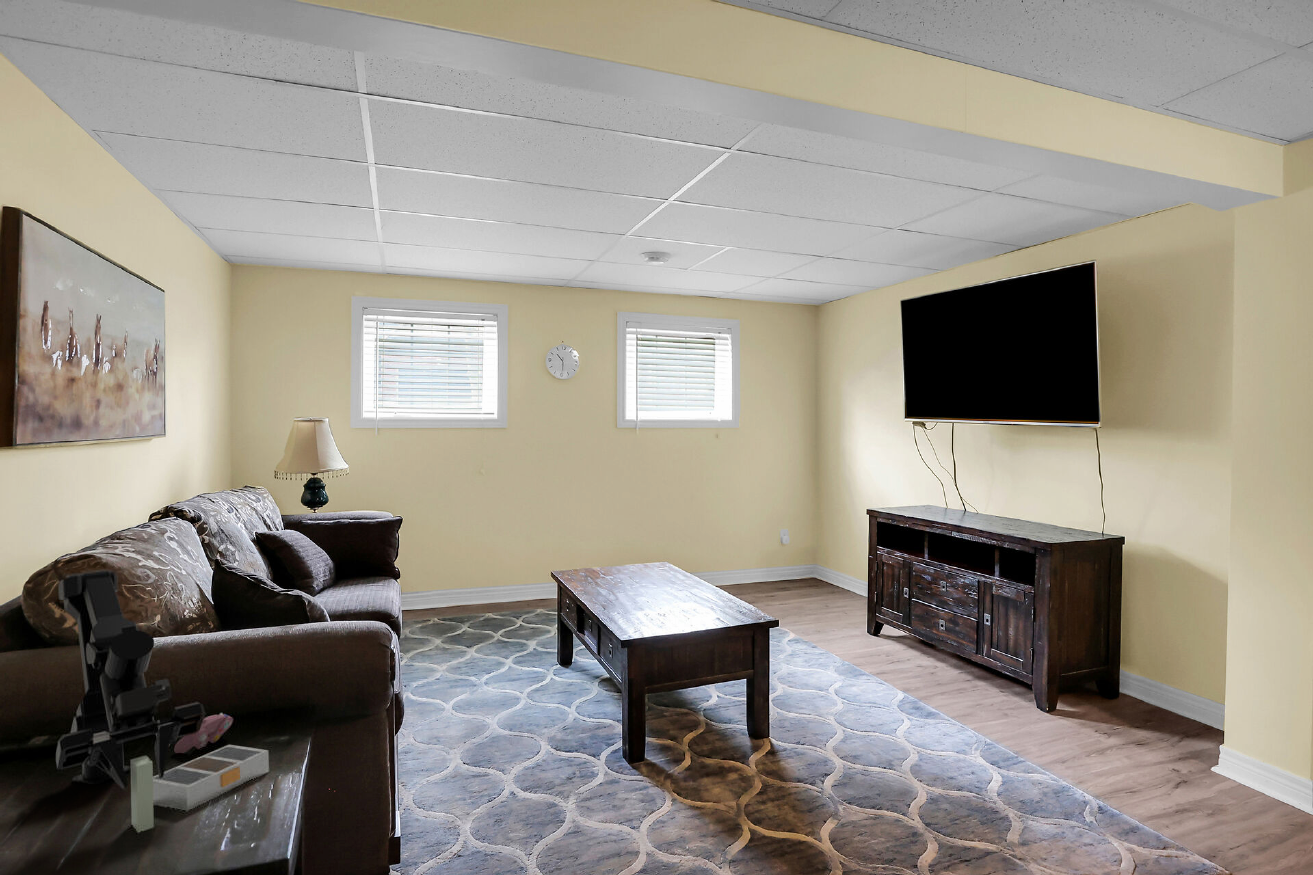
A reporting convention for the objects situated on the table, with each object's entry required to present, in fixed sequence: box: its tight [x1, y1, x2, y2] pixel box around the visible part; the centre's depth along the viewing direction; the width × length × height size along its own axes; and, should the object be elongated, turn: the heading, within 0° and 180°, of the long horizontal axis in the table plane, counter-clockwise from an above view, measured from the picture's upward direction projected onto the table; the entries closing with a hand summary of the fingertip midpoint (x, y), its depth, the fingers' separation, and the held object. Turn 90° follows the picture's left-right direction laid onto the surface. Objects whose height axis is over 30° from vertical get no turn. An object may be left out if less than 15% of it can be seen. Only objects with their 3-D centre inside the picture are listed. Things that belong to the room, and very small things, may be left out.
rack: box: [153, 744, 270, 812], centre depth 122 cm, size 10×15×4 cm
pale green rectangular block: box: [130, 755, 155, 834], centre depth 109 cm, size 4×2×10 cm, turn 48°
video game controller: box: [173, 712, 234, 754], centre depth 141 cm, size 10×5×7 cm, turn 169°
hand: (143, 781), depth 108 cm, fingers open, 4 cm apart
